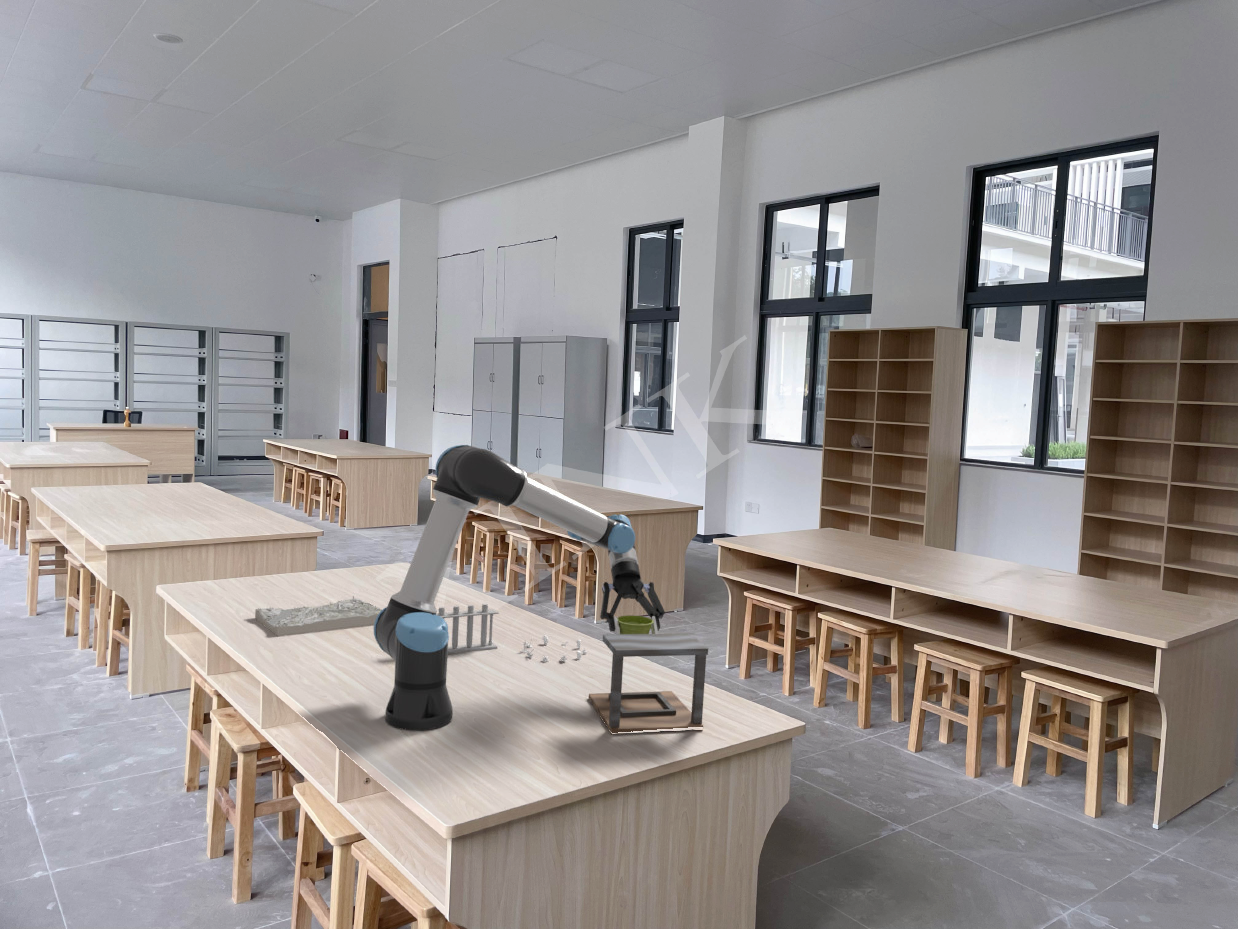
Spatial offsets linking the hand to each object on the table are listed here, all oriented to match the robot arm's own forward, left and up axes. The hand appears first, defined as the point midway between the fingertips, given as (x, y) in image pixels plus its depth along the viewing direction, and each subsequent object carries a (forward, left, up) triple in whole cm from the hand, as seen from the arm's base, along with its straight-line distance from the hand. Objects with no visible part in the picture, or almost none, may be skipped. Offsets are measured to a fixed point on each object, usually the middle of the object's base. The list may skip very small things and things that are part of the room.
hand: (637, 641), depth 223 cm
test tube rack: (+23, +58, -15) cm, 64 cm away
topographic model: (+37, +108, -16) cm, 116 cm away
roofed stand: (-9, -4, -15) cm, 18 cm away
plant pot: (+3, +1, -4) cm, 5 cm away
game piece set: (+32, +30, -16) cm, 46 cm away
